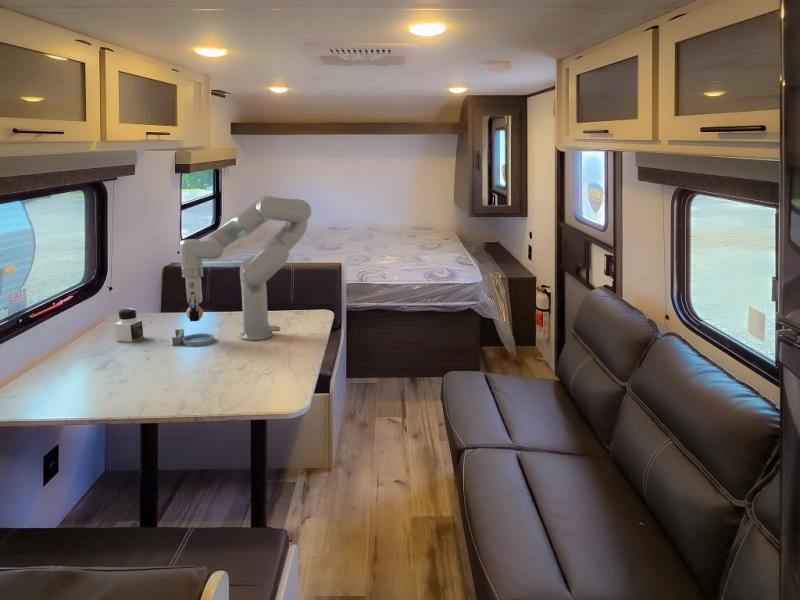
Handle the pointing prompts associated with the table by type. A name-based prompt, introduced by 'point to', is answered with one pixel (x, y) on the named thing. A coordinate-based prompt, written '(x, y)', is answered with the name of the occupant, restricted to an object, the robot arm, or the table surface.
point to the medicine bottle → (128, 326)
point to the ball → (199, 312)
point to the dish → (197, 339)
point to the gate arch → (178, 337)
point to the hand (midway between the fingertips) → (195, 318)
